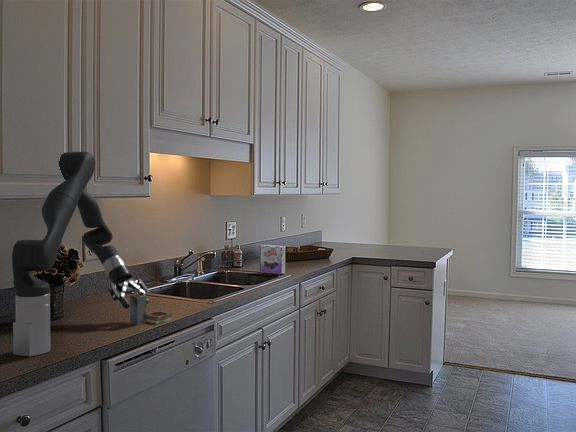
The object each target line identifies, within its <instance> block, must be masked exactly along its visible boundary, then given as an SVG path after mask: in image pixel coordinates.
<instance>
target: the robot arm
mask: <svg viewBox="0 0 576 432" xmlns="http://www.w3.org/2000/svg"><path fill="white" fill-rule="evenodd" d="M65 152H66V153H65ZM65 152H63V153H64V154H62V153H61V154H62V155H61V154H60V155H61V157H60V156H59V157H60V161H59V160H58V168H59V167H60V169H59V171H60V170H61V172H60V174H61V173H62V175H63V177H64V179H65V180H66V181H64V179H63V182H61V183H59V184H58V185H56V186H55V187H54V188H53V189H51V191H50V192H49V193H48V195H47V196H46V198H45V201H44V203H43V205H42V207H41V216H42V219H43V221H44V224H45V226H46V229H47V233H46V235H45V237H44V238H43V239H20V240H18V241H16V242H15V244H14V246H13V247H12V252H11V254H12V255H11V262H12V263H11V264H12V265H11V266H12V278H13V279H12V281H13V282H12V283H13V288H14V292H15V295H14V296H15V321H14V322H13V323H12V340H13V341H12V344H13V345H12V347H13V348H12V351H13V352H12V353H13V355H14V356H21V357H22V356H23V357H30V358H31V357H33V356H39V355H42V354H47V353H48V352H50V351H51V285H50V284H49V283H48V282H47V281H44V280H43V281H42V280H40V279H38V278H37V277H35V276H34V275H33V274H34V272H32V271H40V272H49V271H50V270H51V269H52V267H53V266H54V265H55V262H56V260H57V257H58V254H59V250H60V247H61V245H62V240H63V238H64V235H65V233H66V230H67V228H68V225H69V223H70V221H71V219H72V217H73V215H74V212H75V211H76V208H77V207H78V208H77V209H78V212H79V215H80V218H81V221H82V224H83V226H84V227H85V228H87V229H91V230H89V231H86V232H84V234H83V236H82V241H83V244H84V245H85V246H86V247H87V249H88V250H90V251H91V252H92V253H93V254H94V255H95V256H96V257H97V258H98V260H99V262H100V263H101V265H102V267H103V270H104V272H105V274H106V275H107V276H108V278H109V280H110V282H111V283H110V284H109V286H108V287H107V290H108V292H109V294H110V296H111V298H112V300H113V301H114V302H115V301H118V302H120V304H121V305H122V307H123V309H125V310H126V309H127V310H128V309H130V302H129V301H128V300H127V297H125V295H128V294H133V295H144V296H146V306H147V305H148V303H149V301H150V300H149V298H148V296H147V293H148V292H149V289H148V287H147V285H145V283H144V281H143V280H142V279H141V278H138V280H134V278H133V273H132V272H131V271H130V269H129V267H128V266H127V264H126V262H125V261H124V260H123V258H122V257H121V255H120V254H119V252H118V250H117V249H116V247H115V246H114V245H111V244H109V243H111V241H112V240H113V233H112V231H111V229H110V228H109V227H108V226H107V224H106V221H104V218H103V215H102V213H101V209H100V207H99V203H98V201H97V200H96V199H95V198H94V197H93V196H92V194H91V193H89V192H88V191H87V190H86V187H87V185H88V184H89V183H90V180H91V178H92V177H93V175H94V172H95V170H96V159H95V157H94V155H93V154H92V153H90V152H89V151H68V152H67V151H65ZM62 175H61V176H62ZM63 177H62V178H63ZM108 244H109V245H108Z"/></svg>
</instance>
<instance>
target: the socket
mask: <svg viewBox="0 0 576 432" xmlns="http://www.w3.org/2000/svg"><path fill="white" fill-rule="evenodd" d="M172 318H173V315H172V313H171V312H168V311H167V312H166V311H162V310H161V311H160V310H156V311H151V312H148V313H147V312H146V323H151V324H156V325H158V324H161V323H166V322H170V321H172Z"/></svg>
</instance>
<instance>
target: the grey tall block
mask: <svg viewBox="0 0 576 432" xmlns="http://www.w3.org/2000/svg"><path fill="white" fill-rule="evenodd" d="M146 296H147V295H146ZM146 296H144V295H137V294H136V295H135V294H133V295H129V305H130V306H129V324H130V325H133V326H141V325H145V324H147V321H146V314H147V305H146Z"/></svg>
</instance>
